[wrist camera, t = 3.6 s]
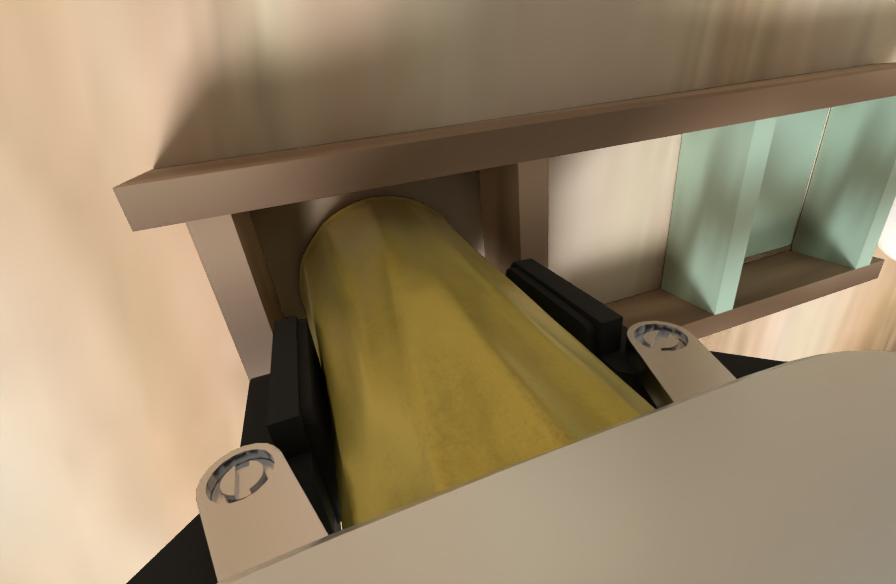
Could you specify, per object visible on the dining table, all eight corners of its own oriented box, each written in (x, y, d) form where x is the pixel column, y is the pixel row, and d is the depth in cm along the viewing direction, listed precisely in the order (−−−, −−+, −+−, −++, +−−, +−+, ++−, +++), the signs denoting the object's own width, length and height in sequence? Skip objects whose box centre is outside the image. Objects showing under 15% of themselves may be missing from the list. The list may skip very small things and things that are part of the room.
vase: (309, 179, 13) (598, 1311, 1) (480, 209, 15) (1211, 615, 3) (291, 347, 15) (298, 1391, 3) (444, 351, 17) (808, 929, 5)
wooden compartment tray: (813, 258, 24) (877, 278, 21) (259, 427, 16) (254, 489, 13) (874, 63, 19) (964, 57, 17) (151, 169, 12) (113, 188, 9)
